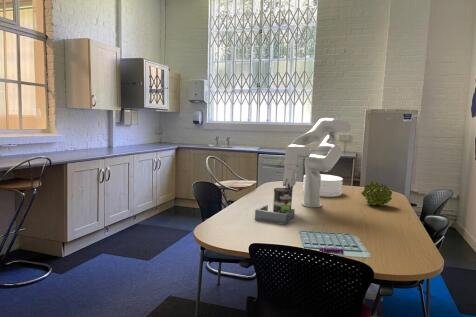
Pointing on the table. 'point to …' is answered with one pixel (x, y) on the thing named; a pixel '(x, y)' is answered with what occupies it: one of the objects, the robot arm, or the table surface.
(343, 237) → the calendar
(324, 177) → the plate stack
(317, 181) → the robot arm
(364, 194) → the green bumpy round lump
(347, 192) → the table surface
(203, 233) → the table surface
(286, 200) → the coffee can
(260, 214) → the can holder bay
